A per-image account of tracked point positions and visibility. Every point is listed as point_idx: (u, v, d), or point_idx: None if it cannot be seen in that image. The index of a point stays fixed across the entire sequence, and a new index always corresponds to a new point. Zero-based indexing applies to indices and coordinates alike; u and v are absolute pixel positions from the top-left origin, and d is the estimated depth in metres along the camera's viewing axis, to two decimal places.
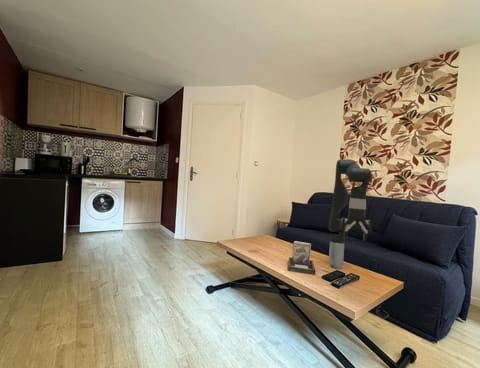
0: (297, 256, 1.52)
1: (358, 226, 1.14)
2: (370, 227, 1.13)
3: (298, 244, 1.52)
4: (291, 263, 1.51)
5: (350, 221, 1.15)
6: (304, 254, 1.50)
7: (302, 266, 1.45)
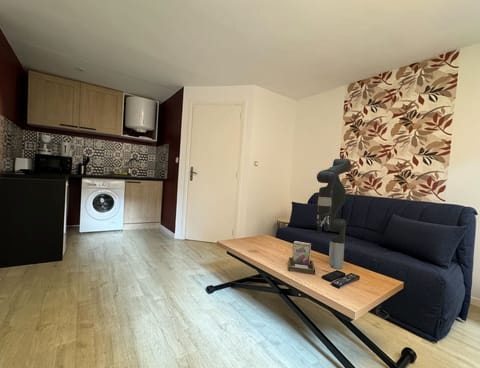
0: (297, 256, 1.52)
1: (325, 220, 1.37)
2: (330, 219, 1.40)
3: (298, 244, 1.52)
4: (291, 263, 1.51)
5: (323, 217, 1.34)
6: (304, 254, 1.50)
7: (302, 266, 1.46)
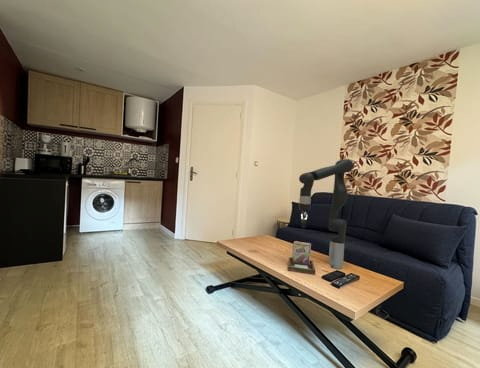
0: (297, 256, 1.52)
1: None
2: None
3: (298, 244, 1.52)
4: (291, 263, 1.51)
5: None
6: (304, 254, 1.50)
7: (302, 266, 1.46)
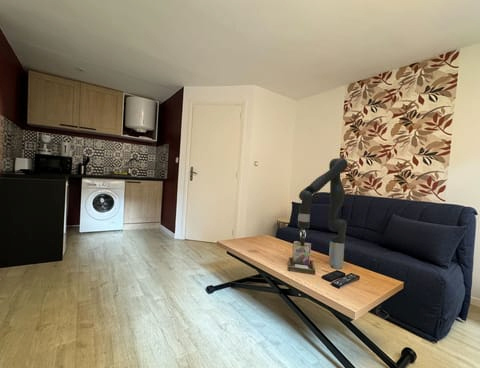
0: (297, 256, 1.52)
1: None
2: None
3: (298, 244, 1.52)
4: (291, 263, 1.51)
5: None
6: (304, 254, 1.50)
7: (302, 266, 1.46)
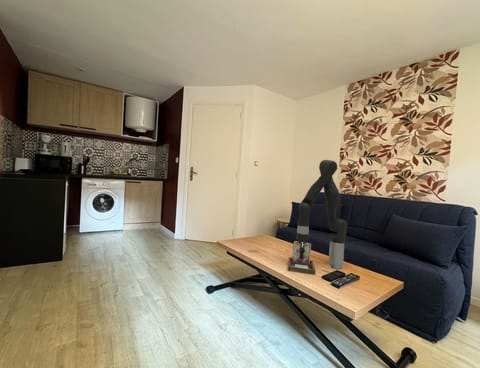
0: (297, 256, 1.52)
1: None
2: None
3: (298, 244, 1.52)
4: (291, 263, 1.51)
5: (303, 245, 1.51)
6: (304, 254, 1.50)
7: (302, 266, 1.46)
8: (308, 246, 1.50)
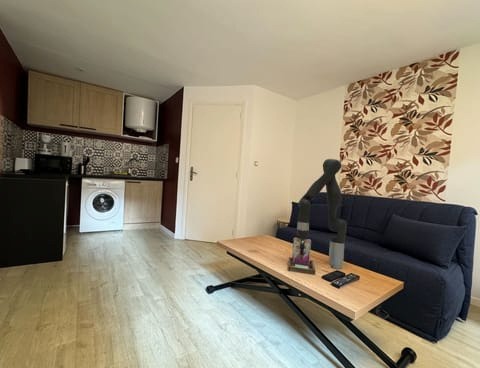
0: (297, 252, 1.53)
1: None
2: None
3: (298, 240, 1.53)
4: (291, 263, 1.51)
5: (304, 241, 1.51)
6: (305, 250, 1.51)
7: (302, 266, 1.45)
8: (308, 242, 1.50)
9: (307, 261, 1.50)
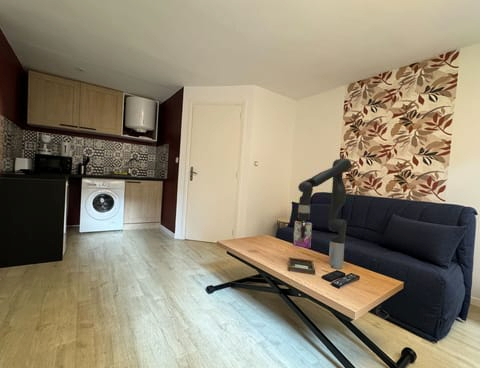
0: (298, 235, 1.52)
1: None
2: None
3: (299, 223, 1.52)
4: (291, 263, 1.51)
5: None
6: (306, 233, 1.51)
7: (302, 266, 1.45)
8: (309, 225, 1.50)
9: (308, 244, 1.50)
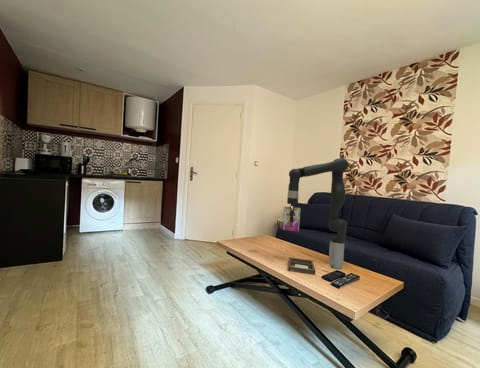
0: (287, 220, 1.59)
1: None
2: None
3: (288, 208, 1.59)
4: (291, 263, 1.51)
5: (293, 208, 1.57)
6: (294, 217, 1.57)
7: (302, 266, 1.46)
8: (298, 209, 1.57)
9: (296, 227, 1.56)
